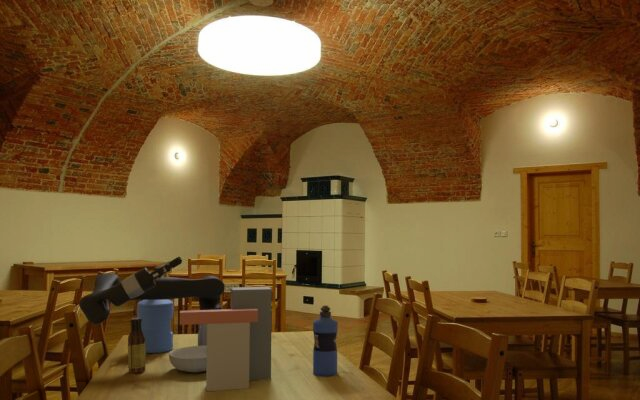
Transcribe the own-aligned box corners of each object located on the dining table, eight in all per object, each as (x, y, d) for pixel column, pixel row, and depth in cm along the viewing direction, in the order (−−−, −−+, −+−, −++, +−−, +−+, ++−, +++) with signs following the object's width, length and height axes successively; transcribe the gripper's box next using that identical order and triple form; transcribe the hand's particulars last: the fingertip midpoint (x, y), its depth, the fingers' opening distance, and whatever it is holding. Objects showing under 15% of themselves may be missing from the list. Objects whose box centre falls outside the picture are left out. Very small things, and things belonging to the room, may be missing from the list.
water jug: (153, 355, 229) (154, 289, 230) (128, 351, 237) (129, 286, 238) (180, 348, 242) (181, 285, 243) (156, 344, 250) (157, 283, 252)
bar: (179, 324, 179) (179, 312, 180) (179, 322, 183) (180, 310, 183) (257, 321, 186) (258, 310, 186) (256, 319, 189) (256, 308, 190)
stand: (206, 391, 179) (208, 294, 181) (205, 376, 197) (206, 288, 199) (275, 386, 185) (276, 292, 187) (267, 372, 202) (268, 286, 204)
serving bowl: (177, 362, 218) (177, 345, 218) (229, 363, 217) (229, 345, 217) (160, 376, 197) (161, 357, 197) (217, 377, 196) (218, 358, 197)
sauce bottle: (149, 370, 206) (149, 317, 206) (138, 374, 200) (139, 320, 200) (134, 368, 208) (135, 316, 208) (123, 372, 202) (124, 319, 203)
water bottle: (334, 369, 207) (334, 303, 209) (340, 376, 198) (340, 307, 200) (310, 370, 205) (310, 304, 207) (315, 377, 196) (315, 308, 198)
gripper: (131, 275, 180) (175, 251, 184) (135, 272, 194) (176, 249, 198) (142, 295, 181) (186, 270, 185) (145, 290, 195) (186, 267, 198)
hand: (180, 259), depth 191 cm, fingers open, 8 cm apart
